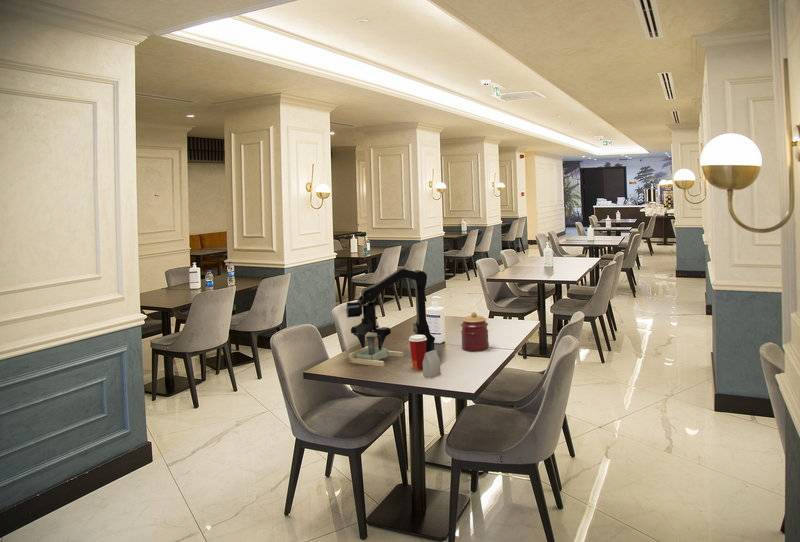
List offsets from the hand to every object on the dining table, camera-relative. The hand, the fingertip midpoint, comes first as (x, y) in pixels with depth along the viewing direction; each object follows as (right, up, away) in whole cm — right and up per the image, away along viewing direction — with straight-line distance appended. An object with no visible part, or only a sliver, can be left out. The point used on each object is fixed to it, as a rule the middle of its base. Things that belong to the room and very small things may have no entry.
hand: (371, 348), depth 261 cm
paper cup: (+21, -6, -16) cm, 27 cm away
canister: (+49, -2, +12) cm, 51 cm away
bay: (+2, -6, -1) cm, 6 cm away
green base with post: (0, -5, 0) cm, 5 cm away
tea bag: (+26, -7, -27) cm, 38 cm away
